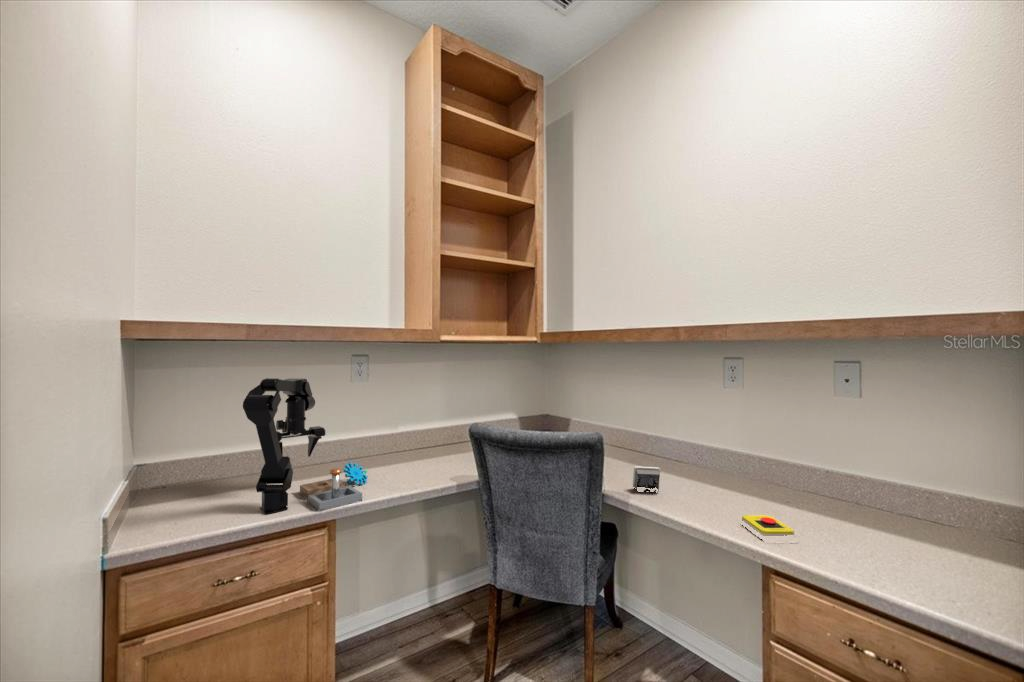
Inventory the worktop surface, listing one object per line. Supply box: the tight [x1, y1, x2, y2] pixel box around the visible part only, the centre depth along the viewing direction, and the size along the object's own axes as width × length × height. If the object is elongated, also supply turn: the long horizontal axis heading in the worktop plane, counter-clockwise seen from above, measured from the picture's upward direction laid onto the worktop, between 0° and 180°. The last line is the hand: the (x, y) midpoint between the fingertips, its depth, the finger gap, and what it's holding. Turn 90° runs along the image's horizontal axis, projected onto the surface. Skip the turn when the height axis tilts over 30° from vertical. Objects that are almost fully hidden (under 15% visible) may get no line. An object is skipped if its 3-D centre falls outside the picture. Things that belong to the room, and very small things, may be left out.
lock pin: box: [329, 467, 342, 499], centre depth 146 cm, size 3×3×10 cm
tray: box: [307, 485, 363, 512], centre depth 146 cm, size 14×10×2 cm
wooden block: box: [299, 478, 344, 500], centre depth 155 cm, size 12×8×3 cm, turn 134°
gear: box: [343, 462, 369, 486], centre depth 166 cm, size 11×6×10 cm
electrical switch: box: [632, 465, 661, 491], centre depth 159 cm, size 9×5×9 cm, turn 83°
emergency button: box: [741, 514, 795, 536], centre depth 126 cm, size 9×4×15 cm
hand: (295, 458), depth 154 cm, fingers open, 9 cm apart
